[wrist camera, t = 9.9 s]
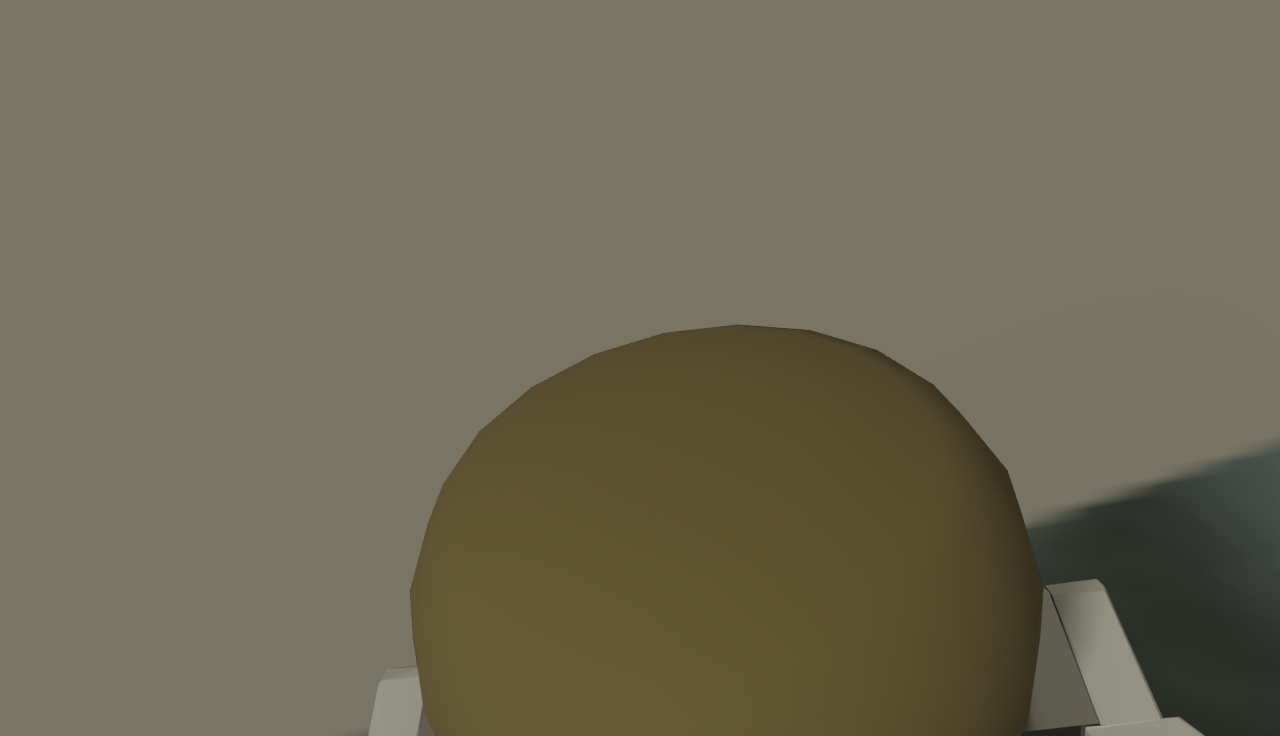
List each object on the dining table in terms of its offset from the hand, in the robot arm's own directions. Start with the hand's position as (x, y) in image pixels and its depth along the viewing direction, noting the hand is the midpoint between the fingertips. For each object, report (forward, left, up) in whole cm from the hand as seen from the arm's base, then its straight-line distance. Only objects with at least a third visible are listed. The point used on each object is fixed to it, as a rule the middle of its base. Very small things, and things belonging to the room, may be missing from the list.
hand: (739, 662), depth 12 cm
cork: (0, +1, -7) cm, 8 cm away
